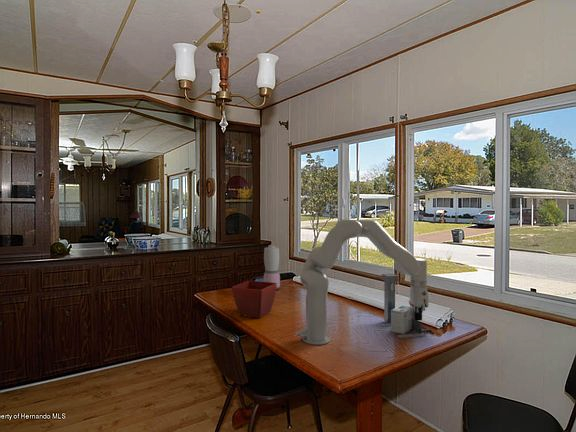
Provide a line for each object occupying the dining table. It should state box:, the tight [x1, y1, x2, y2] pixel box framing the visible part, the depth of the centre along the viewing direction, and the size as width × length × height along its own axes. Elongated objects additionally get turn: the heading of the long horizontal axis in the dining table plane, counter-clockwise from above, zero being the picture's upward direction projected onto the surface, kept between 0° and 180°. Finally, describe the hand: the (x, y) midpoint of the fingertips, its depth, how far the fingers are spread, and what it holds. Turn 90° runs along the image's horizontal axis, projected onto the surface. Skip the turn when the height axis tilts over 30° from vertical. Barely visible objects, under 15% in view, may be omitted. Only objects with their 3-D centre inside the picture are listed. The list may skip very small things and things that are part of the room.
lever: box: [408, 299, 415, 319], centre depth 179 cm, size 4×5×13 cm
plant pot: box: [231, 280, 277, 319], centre depth 198 cm, size 19×19×17 cm
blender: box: [263, 245, 281, 290], centre depth 261 cm, size 16×12×32 cm
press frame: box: [381, 273, 425, 339], centre depth 174 cm, size 14×24×25 cm, turn 11°
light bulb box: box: [390, 304, 413, 335], centre depth 172 cm, size 11×7×11 cm, turn 140°
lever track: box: [422, 325, 435, 336], centre depth 175 cm, size 6×20×1 cm, turn 11°
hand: (418, 319), depth 174 cm, fingers closed
